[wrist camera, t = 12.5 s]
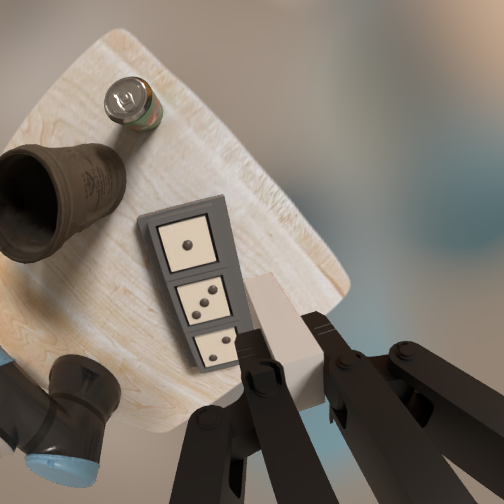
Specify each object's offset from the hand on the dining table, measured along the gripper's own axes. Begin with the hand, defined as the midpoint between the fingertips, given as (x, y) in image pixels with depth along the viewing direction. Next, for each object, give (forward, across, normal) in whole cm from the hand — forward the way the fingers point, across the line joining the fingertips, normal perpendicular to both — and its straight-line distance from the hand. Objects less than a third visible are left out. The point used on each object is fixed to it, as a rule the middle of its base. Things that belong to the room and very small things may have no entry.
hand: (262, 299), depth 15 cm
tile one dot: (+25, -5, -3) cm, 25 cm away
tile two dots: (+24, -5, -20) cm, 32 cm away
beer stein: (+27, -19, +8) cm, 34 cm away
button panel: (+27, -5, -11) cm, 29 cm away
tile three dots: (+25, -5, -11) cm, 28 cm away
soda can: (+27, -7, +15) cm, 32 cm away
